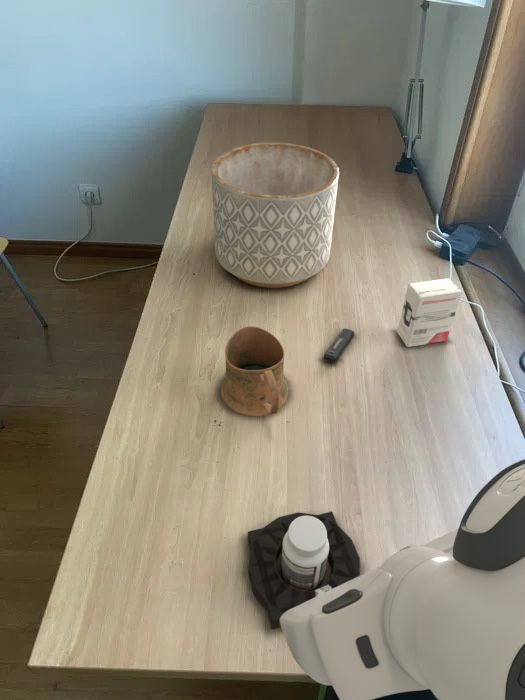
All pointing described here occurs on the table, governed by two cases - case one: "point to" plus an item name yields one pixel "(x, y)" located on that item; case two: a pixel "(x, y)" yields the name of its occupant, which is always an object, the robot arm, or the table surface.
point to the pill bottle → (304, 553)
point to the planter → (273, 212)
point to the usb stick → (338, 345)
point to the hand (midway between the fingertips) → (366, 574)
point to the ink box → (428, 312)
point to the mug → (254, 373)
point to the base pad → (269, 548)
